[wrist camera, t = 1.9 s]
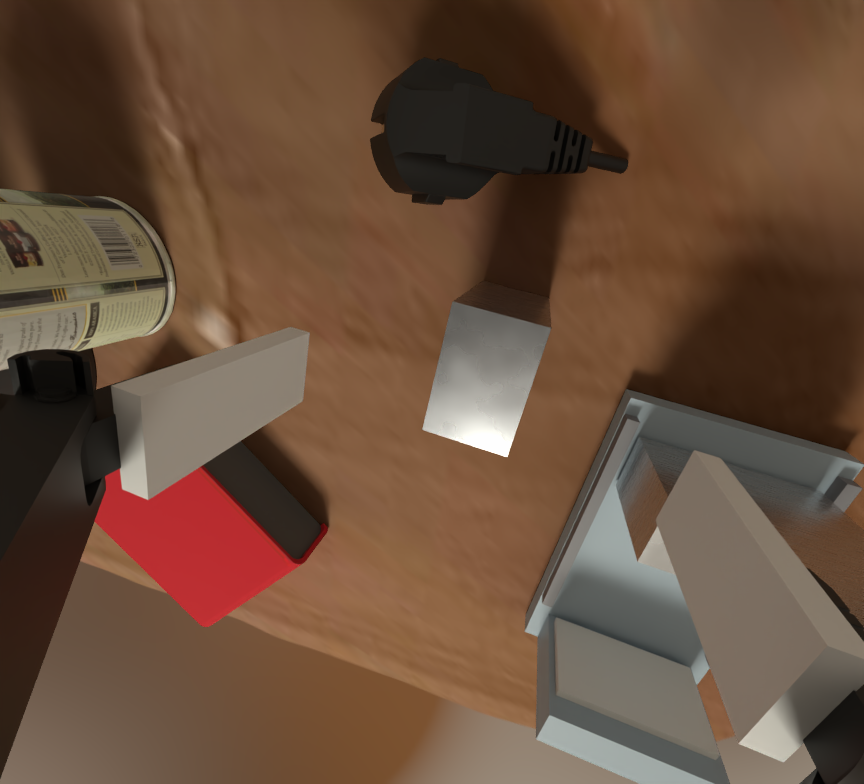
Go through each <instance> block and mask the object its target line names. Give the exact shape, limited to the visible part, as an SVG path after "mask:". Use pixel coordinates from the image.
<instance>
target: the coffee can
mask: <svg viewBox="0 0 864 784" xmlns="http://www.w3.org/2000/svg"><path fill="white" fill-rule="evenodd" d="M175 294H176V286H175V277H174V271H173V267H172V263H171V260H170V258H169V256H168V253H167V251H166V249H165V247H164V244H163V243H162V241H161V239H160V237H159V236H158V234H157V233H156V231H155V230H154V229H153V227H152V226H151V225H150V224H149V223H148V221H147V220H146V219H145V218H144V217H142V216H141V215H140V214H139V213H138V212H137V211H136V210H135V209H133V208H131V207H130V206H128V205H127V204H125V203H123V202H121V201H119V200H117V199H114V198H110V197H104V196H94V197H90V196H79V195H67V194H59V193H45V192H33V191H21V190H10V189H0V371H1V370H5V369H9V367H8V362H7V359H8V358H10V357H11V356H13V355H15V354H19V353H23V352H27V351H33V350H42V349H64V350H74V351H81V350H85V349H89V348H94V347H98V346H102V345H106V344H110V343H114V342H118V341H122V340H126V339H130V338H134V337H143V336H147V335H150V334H153V333H155V332H157V331H158V330H159V329H161V328H162V327H163V326H164V325H165V323H166V322H167V321H168V319H169V317H170V315H171V313H172V311H173V306H174V301H175Z"/></svg>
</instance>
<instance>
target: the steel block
mask: <svg viewBox="0 0 864 784" xmlns="http://www.w3.org/2000/svg"><path fill="white" fill-rule="evenodd" d="M550 330H551V317H550V303H549V298H548V297H544V296H540V295H536V294H533V293H529V292H525V291H521V290H517V289H513V288H509V287H505V286H502V285H498V284H494V283H490V282H486V281H482V282H481V283H479V284H478V285H476V286H475V287H473V288H472V289H470V290H469V291H467V292H466V293H464V294H463V295H461V296H460V297H458V298H457V299H456V300H454V301H453V302H452V306H451V311H450V315H449V319H448V323H447V327H446V332H445V336H444V340H443V344H442V349H441V353H440V357H439V361H438V366H437V370H436V374H435V378H434V383H433V387H432V391H431V395H430V400H429V404H428V408H427V412H426V417H425V421H424V425H423V429H422V430H425V431H428V432H431V433H434V434H437V435H440V436H443V437H446V438H449V439H452V440H456V441H459V442H462V443H465V444H468V445H471V446H474V447H477V448H480V449H483V450H486V451H489V452H493V453H496V454H499V455H502V456H505V457H507V456H508V453H509V450H510V447H511V444H512V441H513V439H514V436H515V433H516V430H517V427H518V424H519V421H520V418H521V415H522V412H523V409H524V406H525V403H526V400H527V398H528V395H529V392H530V389H531V386H532V383H533V380H534V377H535V374H536V371H537V368H538V365H539V362H540V360H541V357H542V354H543V351H544V348H545V345H546V342H547V339H548V336H549V333H550Z"/></svg>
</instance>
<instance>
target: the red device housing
mask: <svg viewBox="0 0 864 784" xmlns="http://www.w3.org/2000/svg"><path fill="white" fill-rule="evenodd" d="M105 481H106V491H105V494H104V496H103V499H102V502H101V505H100V507H99V510H98V513H97V516H96V518H95V522H96V523H97V524H98V525H99V526H100V527H101V528H102V529H103V530H104V531H105V532H106V533H107V534H108V535H109V536H110V537H111V538H112V539H113V540H114V541H115V542H116V543H117V544H118V545H119V546H120V547H121V548H122V549H123V550H124V551H125V552H126V553H127V554H128V555H129V556H130V557H131V558H132V559H133V560H134V561H136V562H137V563H138V564H139V565H140V566H141V567H142V568H143V569H144V570H145V571H146V572H147V573H148V574H149V575H150V576H151V577H152V578H153V579H154V580H155V581H156V582H157V583H158V584H159V585H160V586H161V587H162V588H163V589H164V590H165V591H166V592H167V593H168V594H169V595H170V596H171V597H172V598H173V599H175V601H176V602H178V604H179V605H180V606H182V607H183V608H184V609H185V610H186V611H187V612H188V613H189V614H190V615H191V616H192V617H193V618H194V619H195V620H196V621H197V622H198V623H199V624H200V625H201V626H204V627H208V626H211V625H212V624H214V623H215V622H217V621H218V620H220V619H221V618H222V617H224V616H226V615H227V614H229V613H230V612H232V611H233V610H235V609H236V608H237V607H239V606H240V605H242V604H243V603H245V602H246V601H248V600H249V599H251V598H252V597H254V596H255V595H257V594H258V593H260V592H261V591H263V590H264V589H266V588H267V587H269V586H270V585H272V584H273V583H275V582H276V581H278V580H279V579H281V578H282V577H284V576H285V575H286V574H288V573H289V572H291V571H292V570H294V569H295V568H297V567H298V566H300V565H301V564H303V563H304V562H305V561H306V560H307V559H308V557H309V556H310V554H311V553H312V552H313V550H314V549H315V548H316V546H317V545H318V544H319V542H320V541H321V540H322V538H323V537H324V536H325V534H326V533H327V531H328V527H327V526H326V525H325V524H324V523H323V524H321V525H320V524H319V523H318V522H317V521H316V520H315V519H314V518H313V517H312V516H311V515H310V514H309V513H308V512H307V511H306V510H305V508H304V507H303V506H302V505H301V504H300V503H299V502H298V501H297V500H296V499H295V498H294V497H293V496H292V495H291V494H290V493H289V492H288V491H287V489H286V488H285V487H284V486H283V485H282V484H281V483H280V482H279V481H278V480H277V479H276V478H275V477H274V476H273V475H272V474H271V473H270V472H269V470H268V469H267V468H266V467H265V466H264V465H263V464H262V463H261V462H260V461H259V460H258V459H257V458H256V457H255V456H254V455H253V454H252V453H251V451H250V450H249V449H248V448H247V447H246V446H245V445H244V444H243V443H242V442H241V441H240V442H238V443H237V444H235V445H233V446H232V447H230V448H229V449H227V450H226V451H224V452H222V453H221V454H219V455H218V456H216V457H215V458H213V459H212V460H210V461H208V462H207V463H205V464H204V465H202V466H201V467H199V468H198V469H196V470H194V471H193V472H191V473H190V474H188V475H187V476H185V477H183V478H182V479H180V480H179V481H177V482H176V483H174V484H173V485H171V486H169V487H168V488H166V489H165V490H163V491H162V492H160V493H158V494H157V495H155V496H154V497H152V498H151V499H149V500H147V499H145V498H142V497H140V496H137V495H135V494H133V493H130V492H128V491H125V490H123V489H122V484H121V475H120V469H118V470H116V471H114V472H112V473H110V474H108V475H106V476H105Z"/></svg>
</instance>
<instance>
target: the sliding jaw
mask: <svg viewBox="0 0 864 784" xmlns="http://www.w3.org/2000/svg"><path fill="white" fill-rule="evenodd" d="M691 455H692V452H689V451H686V450H682V449H679V448H676V447H672V446H669V445H666V444H662V443H659V442H656V441H652V440H649V439H646V438H642V437H639V438H638V440H637V442H636V444H635V446H634V448H633V450H632V452H631V454H630V457H629V459H628V461H627V463H626V465H625V467H624V469H623V471H622V473H621V475H620V477H619V479H618V481H617V483H616V489H617V492H618V496H619V499H620V503H621V506H622V510H623V513H624V517H625V520H626V524H627V527H628V530H629V534H630V537H631V541H632V544H633V548H634V551H635V555H636V558H637V562H639V563H642V564H645V565H648V566H651V567H654V568H657V569H660V570H663V571H665V572H668V573H671V574H674V575H676V574H675V572H674V569H673V566H672V563H671V561H670V558H669V555H668V553H667V550H666V547H665V545H664V542H663V539H662V537H661V534H660V531H659V528H658V526H657V523H656V518H657V516H658V514H659V513H660V511H661V509H662V507H663V505H664V504H665V502H666V500H667V498H668V496H669V494H670V493H671V491H672V489H673V487H674V485H675V484H676V482H677V480H678V478H679V476H680V475H681V473H682V471H683V469H684V467H685V466H686V464H687V462H688V460H689V458H690V457H691ZM724 463H725V464H726V466H727V467H728V468H729V469H730V471H731V472H732V473H733V474H734V476H735V477H736V478H737V480H738V481H739V482H740V483H741V485H742V486H743V487H744V489H745V490H746V491H747V492H748V494H749V495H750V496H751V498H752V499H753V500H754V501H755V503H756V504H757V505H758V507H759V508H760V509H761V510H762V512H763V513H764V514H765V516H766V517H767V518H768V519H769V521H770V522H771V523H772V525H773V526H774V527H775V528H776V530H777V531H778V532H779V534H780V535H781V536H782V537H783V539H784V540H785V541H786V543H787V544H788V545H789V546H790V548H791V549H792V550H793V552H794V553H795V554H796V555H797V557H798V558H799V559H800V561H801V562H802V563H803V564H804V566H805V567H806V568H809V569H810V570H811V571H813V572H814V573H815V574H816V575H817V576H818V577H820V578H821V579H822V580H823V581H824V582H825V583H826V584H828V585H829V586H830V587H831V588H832V589H833V590H834V591H835V592H836V593H837V595H838V596H839V597H840V598H841V599H842V601H843V602H844V603H845V604H846V606H847V607H848V608H849V609H850V613H851V614H854V616H855V617H856V618H857V619H858V621H859V622H860V623H861V624H862V625H863V627H864V530H863V529H862V528H861V527H860V526H859V525H857V524H856V523H855V522H854V521H853V520H852V519H851V518H850V517H849V516H848V515H846V514H845V513H844V512H843V511H842V510H841V509H840V508H839V507H838V506H837V505H835V504H834V503H833V502H832V501H831V500H830V499H829V498H828V497H827V496H826V495H825V494H823V493H822V492H821V491H819V490H815V489H812V488H809V487H805V486H802V485H799V484H795V483H792V482H789V481H785V480H782V479H779V478H775V477H772V476H769V475H765V474H762V473H759V472H755V471H752V470H749V469H745V468H742V467H739V466H736V465H732V464H729V463H726V462H724Z"/></svg>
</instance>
